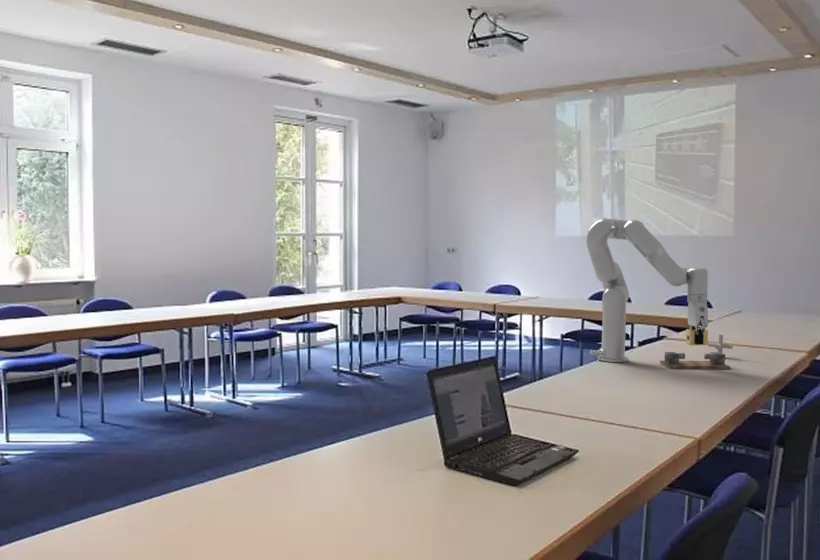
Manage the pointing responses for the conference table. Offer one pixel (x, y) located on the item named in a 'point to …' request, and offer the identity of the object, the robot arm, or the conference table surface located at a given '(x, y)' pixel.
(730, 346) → the pipe connector
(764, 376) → the conference table surface
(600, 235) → the robot arm
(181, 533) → the conference table surface
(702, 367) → the shaft stand
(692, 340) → the block
